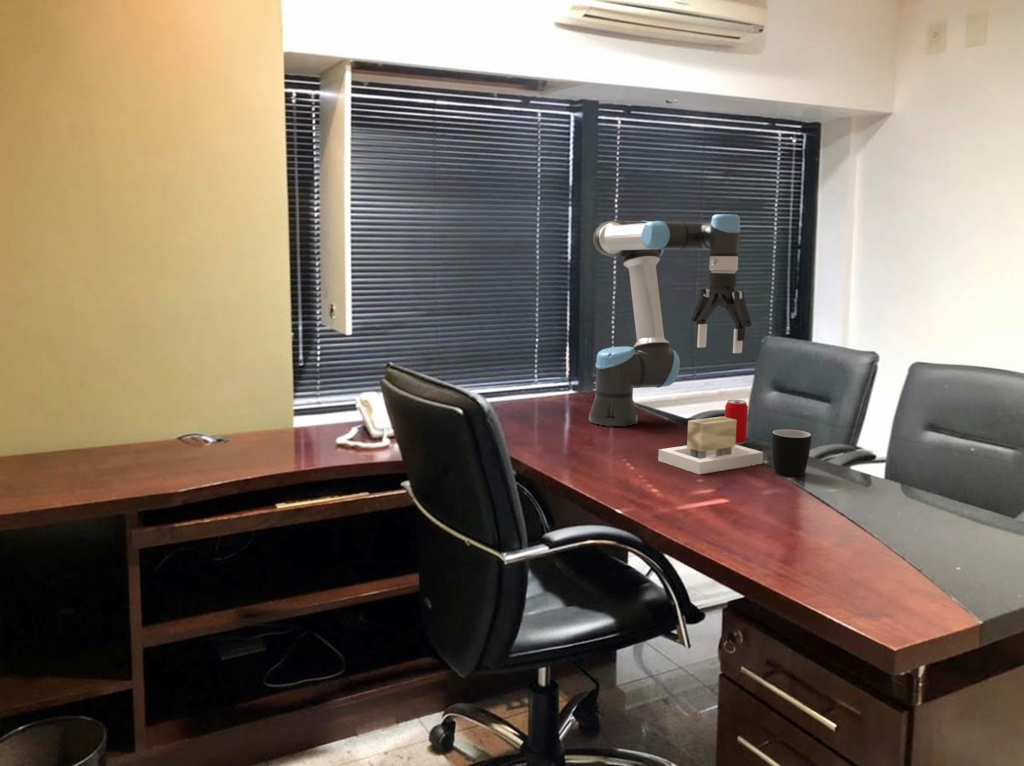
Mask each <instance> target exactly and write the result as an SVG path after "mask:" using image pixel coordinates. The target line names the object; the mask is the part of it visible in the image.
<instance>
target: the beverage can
mask: <svg viewBox="0 0 1024 766" xmlns="http://www.w3.org/2000/svg"><path fill="white" fill-rule="evenodd" d="M724 408H725V409H724V417H727V418H731V419H735V420H737V423H736V440H735V445H739V446H741V445H744V444H745V443H746V442H747V432H748V415H749V413H748V411H749V406H748V404H747V401H746V400H743V399H728V400H727V402H726V404H725V406H724Z"/></svg>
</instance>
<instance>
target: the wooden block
mask: <svg viewBox="0 0 1024 766" xmlns="http://www.w3.org/2000/svg"><path fill="white" fill-rule="evenodd" d="M736 423H737V420H735V419H731V418H727V417H725V416H716V417H715V416H714V417H708V418H699V419H690V420H688V421H687V437H686V439H687V441H686V446H687V448H690V449H693V450H697V451H700V452H702V451H709V450H715V449H722V448H728V447H735V440H736Z"/></svg>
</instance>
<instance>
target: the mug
mask: <svg viewBox="0 0 1024 766" xmlns="http://www.w3.org/2000/svg"><path fill="white" fill-rule="evenodd" d="M771 438H772V439H771V440H772V441H771V443H772V444H771V445H772V446H771V447H772V450H771V451H772V463H773V468H774V472H775V473H776V474H777V475H780V476H783V477H788V478H789V477H792V478H795V477H796V478H797V477H801V476H804V474H805V472H806V469H807V466H808V461H809V456H810V449H811V444H812V443H811V442H812V434H811V433H810V432H807V431H804V430H796V429H783V428H782V429H775V430H773V431H772V437H771Z"/></svg>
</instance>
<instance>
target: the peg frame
mask: <svg viewBox="0 0 1024 766" xmlns="http://www.w3.org/2000/svg"><path fill="white" fill-rule="evenodd" d="M657 456H658V458H657V459H658V462H661V463H663V464H666V465H670V466H672V467H676V468H679V469H682V470H685V471H688V472H691V473H694V474H697V475H702V474H704V475H705V474H709V473H716V472H721V471H728V470H732V469H733V470H734V469H741V468H746V467H752V466H756V465H757V464H758V465H763V463H764V451H762V450H761V451H760V450H757V449H753V448H749V447H746V446H742V445H735V447H728V448H722V449H715V450H709V451H702V452H700V451H697V450H693V449H690V448H687V445H682V446H674V447H668V448H667V447H666V448H661V449H660V448H659V449H658V455H657ZM751 465H752V466H751Z"/></svg>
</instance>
